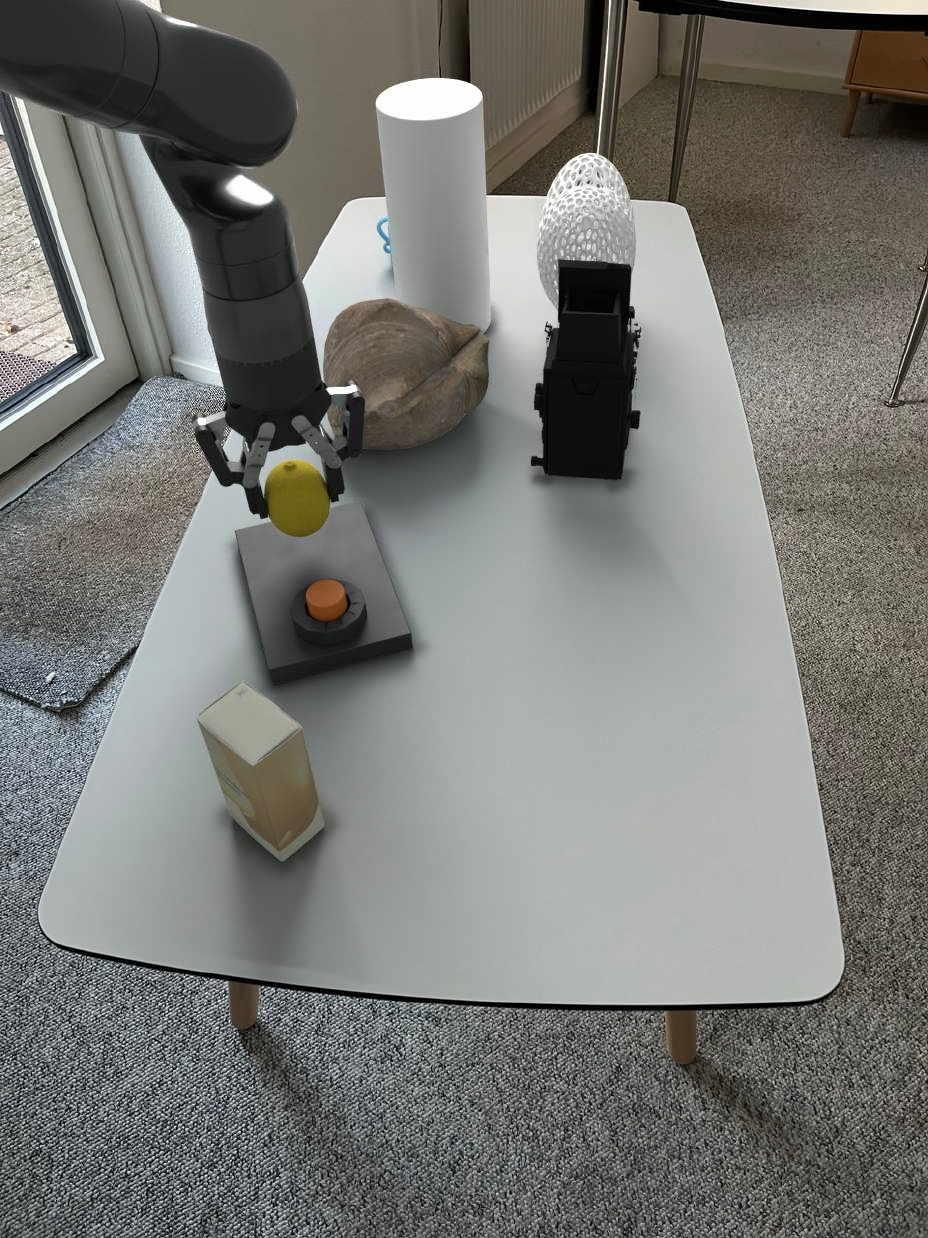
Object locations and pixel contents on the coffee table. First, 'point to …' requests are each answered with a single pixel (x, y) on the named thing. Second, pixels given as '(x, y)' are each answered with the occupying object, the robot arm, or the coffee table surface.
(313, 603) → the button
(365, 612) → the dark grey base plate
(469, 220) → the tall pillar cylinder
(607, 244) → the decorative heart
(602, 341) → the camera
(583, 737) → the coffee table surface
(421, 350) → the seashell
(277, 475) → the lemon
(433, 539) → the coffee table surface
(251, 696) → the cosmetic box
